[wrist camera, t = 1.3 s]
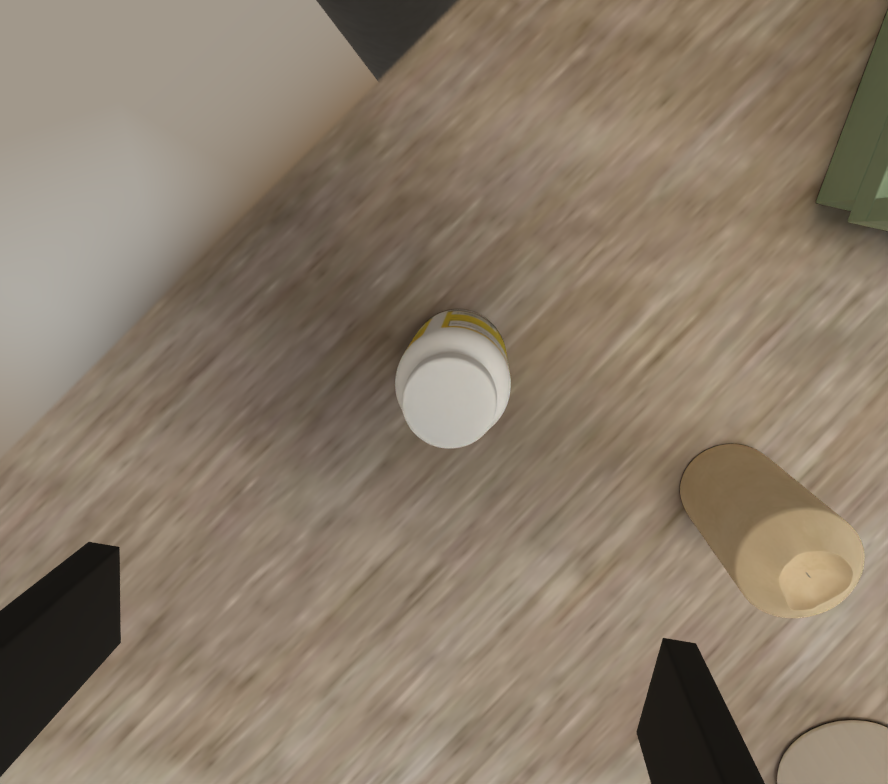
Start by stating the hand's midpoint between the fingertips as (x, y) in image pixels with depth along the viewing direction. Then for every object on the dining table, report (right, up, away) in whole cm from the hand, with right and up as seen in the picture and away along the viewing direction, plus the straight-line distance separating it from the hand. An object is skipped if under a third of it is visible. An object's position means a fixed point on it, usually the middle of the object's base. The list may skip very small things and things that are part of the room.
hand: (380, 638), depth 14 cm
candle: (+18, 0, +21) cm, 28 cm away
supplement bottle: (+2, +8, +20) cm, 22 cm away
